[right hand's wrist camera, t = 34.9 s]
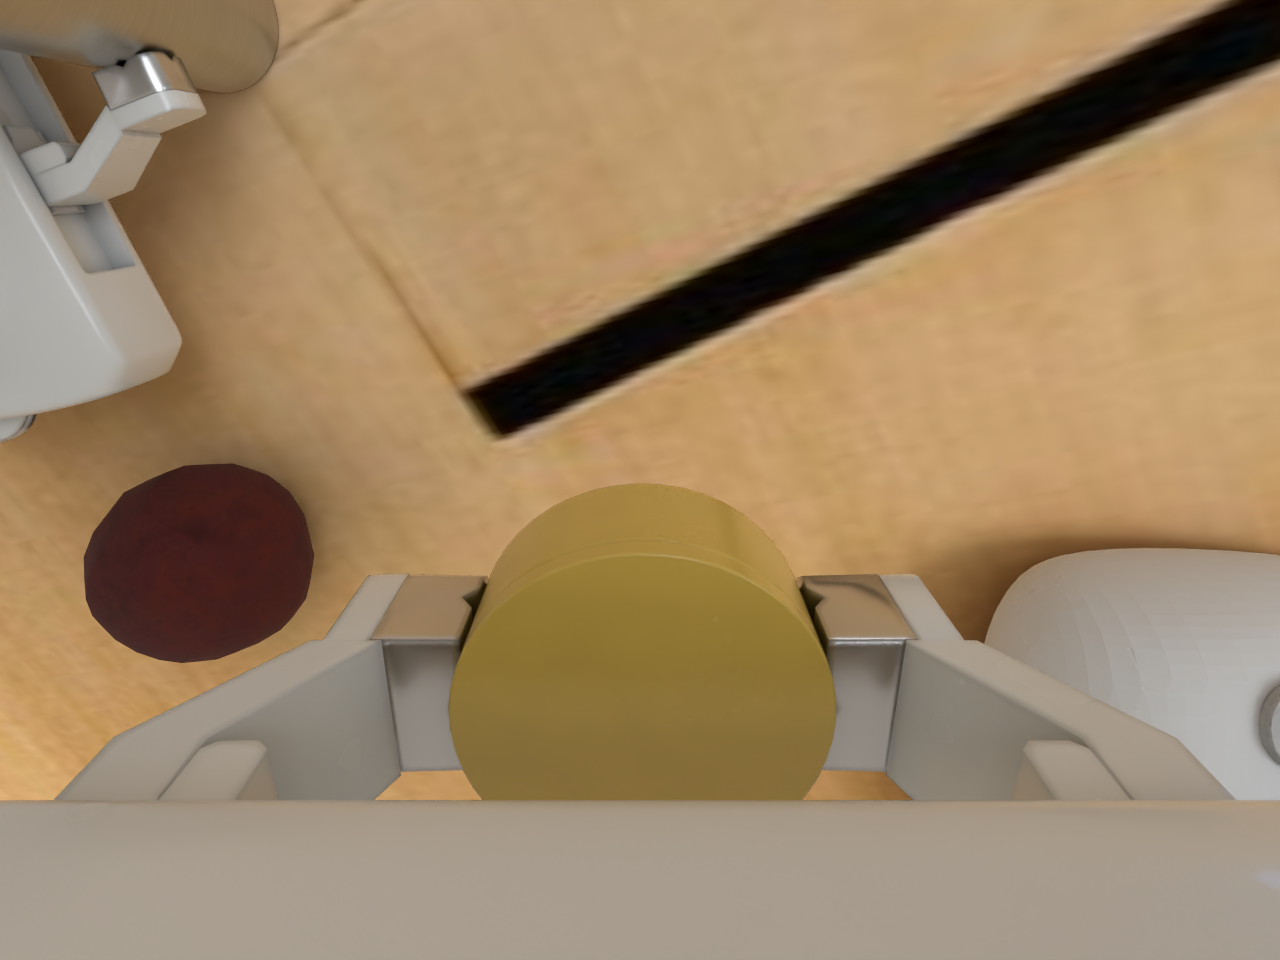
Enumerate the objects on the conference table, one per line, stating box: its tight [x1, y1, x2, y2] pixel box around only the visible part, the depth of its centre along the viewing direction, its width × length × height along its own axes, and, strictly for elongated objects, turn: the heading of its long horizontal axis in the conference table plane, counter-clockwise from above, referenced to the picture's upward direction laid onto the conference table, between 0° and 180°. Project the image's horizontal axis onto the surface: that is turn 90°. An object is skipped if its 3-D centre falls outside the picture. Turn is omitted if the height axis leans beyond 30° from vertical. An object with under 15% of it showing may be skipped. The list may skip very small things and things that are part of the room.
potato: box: [84, 464, 314, 663], centre depth 29 cm, size 7×8×7 cm
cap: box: [448, 484, 836, 800], centre depth 9 cm, size 4×4×2 cm
